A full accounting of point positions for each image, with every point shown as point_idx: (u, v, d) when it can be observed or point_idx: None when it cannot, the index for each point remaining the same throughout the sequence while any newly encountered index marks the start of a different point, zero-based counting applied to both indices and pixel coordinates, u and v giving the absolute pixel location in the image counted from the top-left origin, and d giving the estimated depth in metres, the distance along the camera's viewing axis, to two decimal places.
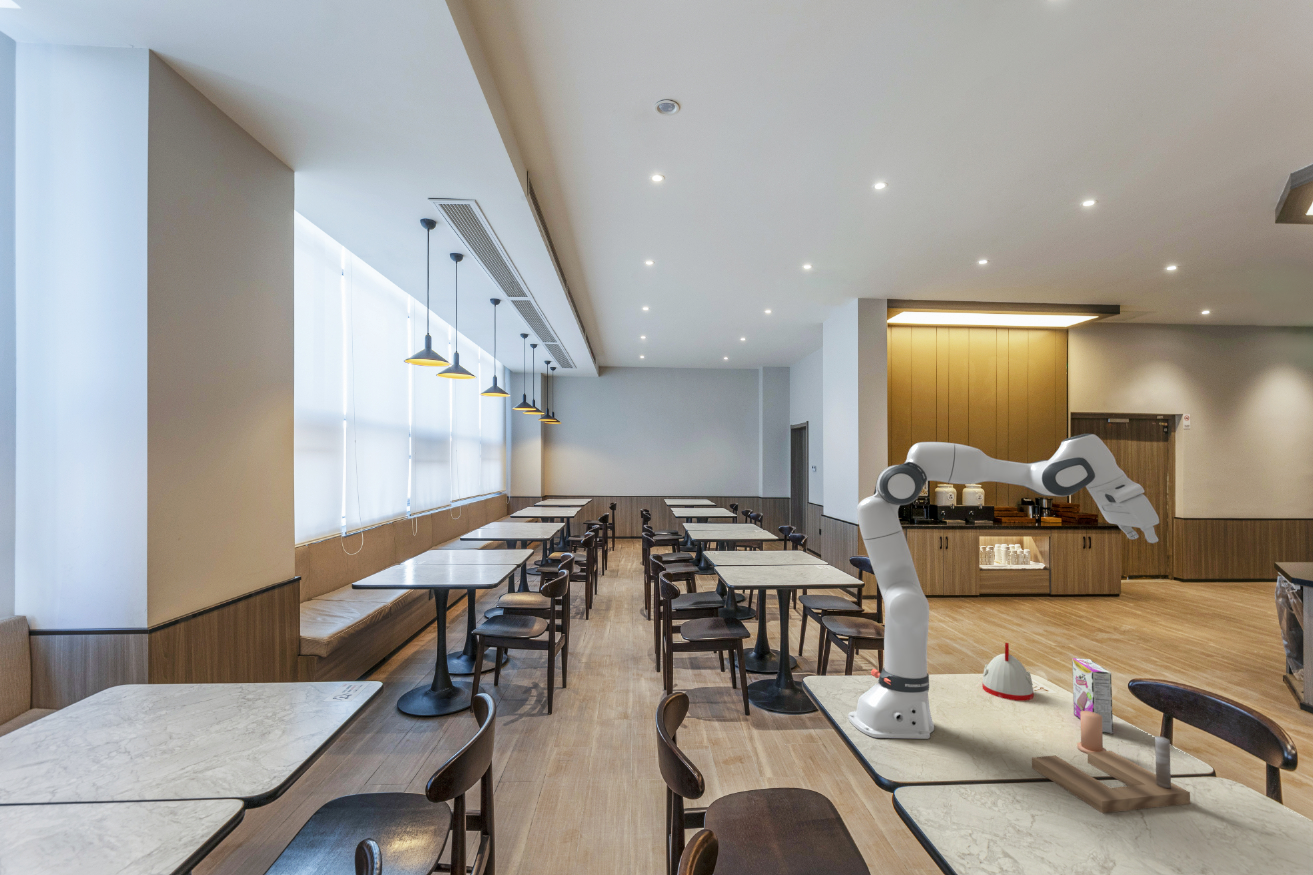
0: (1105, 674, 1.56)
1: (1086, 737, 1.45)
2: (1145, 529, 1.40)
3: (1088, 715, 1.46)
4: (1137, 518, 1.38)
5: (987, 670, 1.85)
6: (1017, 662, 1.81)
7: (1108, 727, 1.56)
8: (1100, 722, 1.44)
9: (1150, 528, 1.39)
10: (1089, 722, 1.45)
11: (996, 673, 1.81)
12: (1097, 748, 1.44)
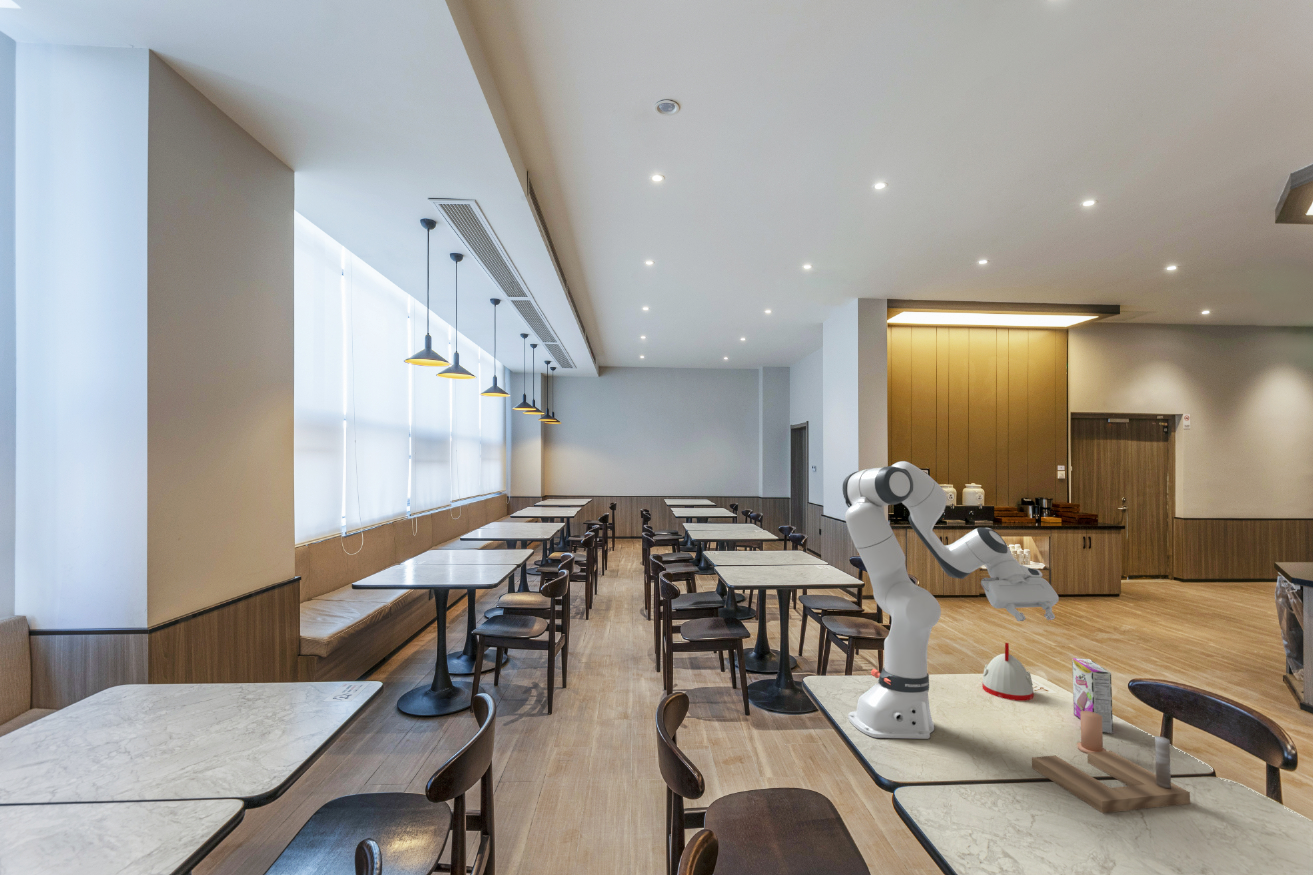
0: (1105, 674, 1.56)
1: (1086, 737, 1.45)
2: None
3: (1088, 715, 1.46)
4: (1054, 590, 1.67)
5: (987, 670, 1.85)
6: (1017, 662, 1.81)
7: (1108, 727, 1.56)
8: (1100, 722, 1.44)
9: None
10: (1089, 722, 1.45)
11: (996, 673, 1.81)
12: (1097, 748, 1.44)
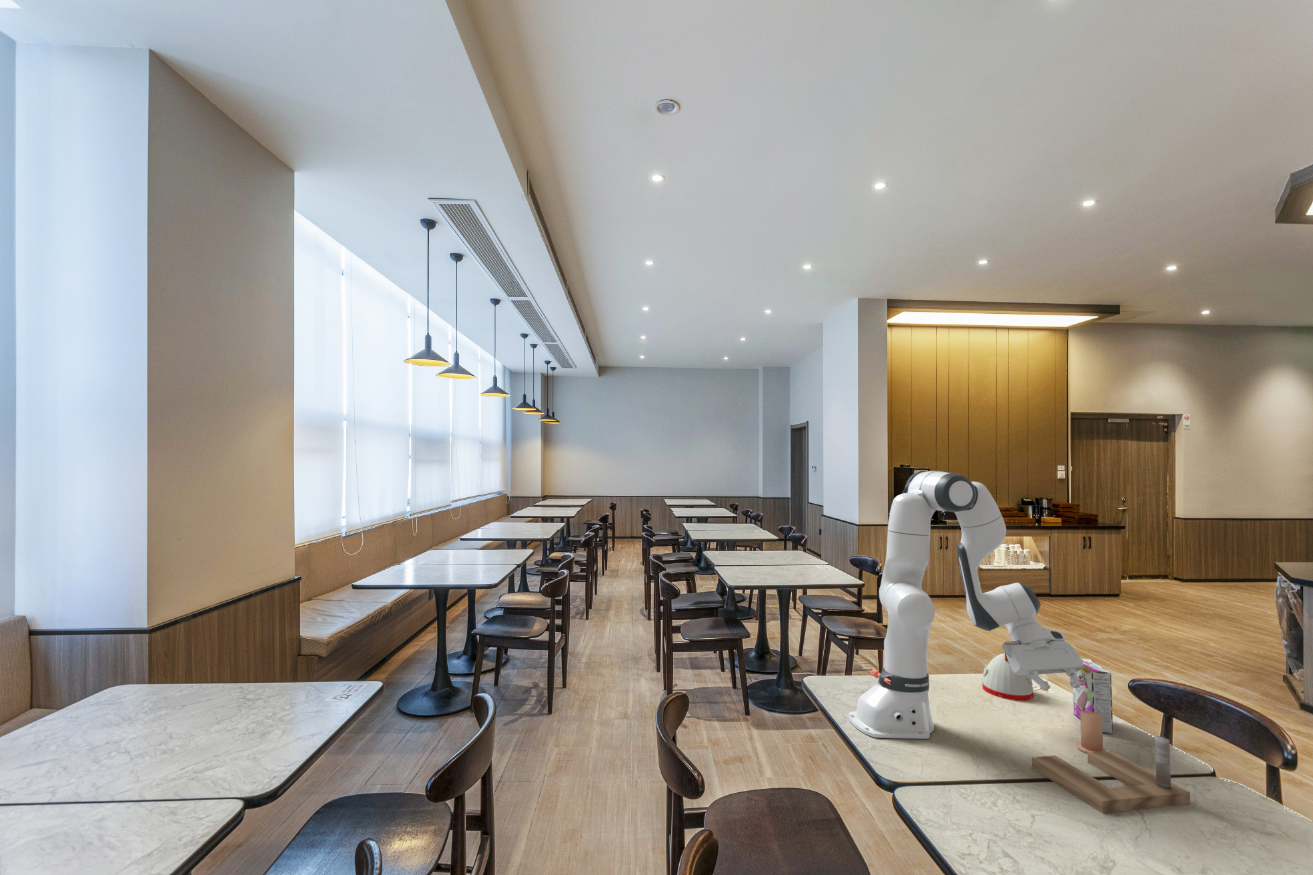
0: (1105, 674, 1.56)
1: (1086, 737, 1.45)
2: None
3: (1088, 715, 1.46)
4: (1078, 655, 1.61)
5: (987, 670, 1.85)
6: None
7: (1108, 727, 1.56)
8: (1100, 722, 1.44)
9: None
10: (1089, 722, 1.45)
11: (996, 673, 1.81)
12: (1097, 748, 1.44)
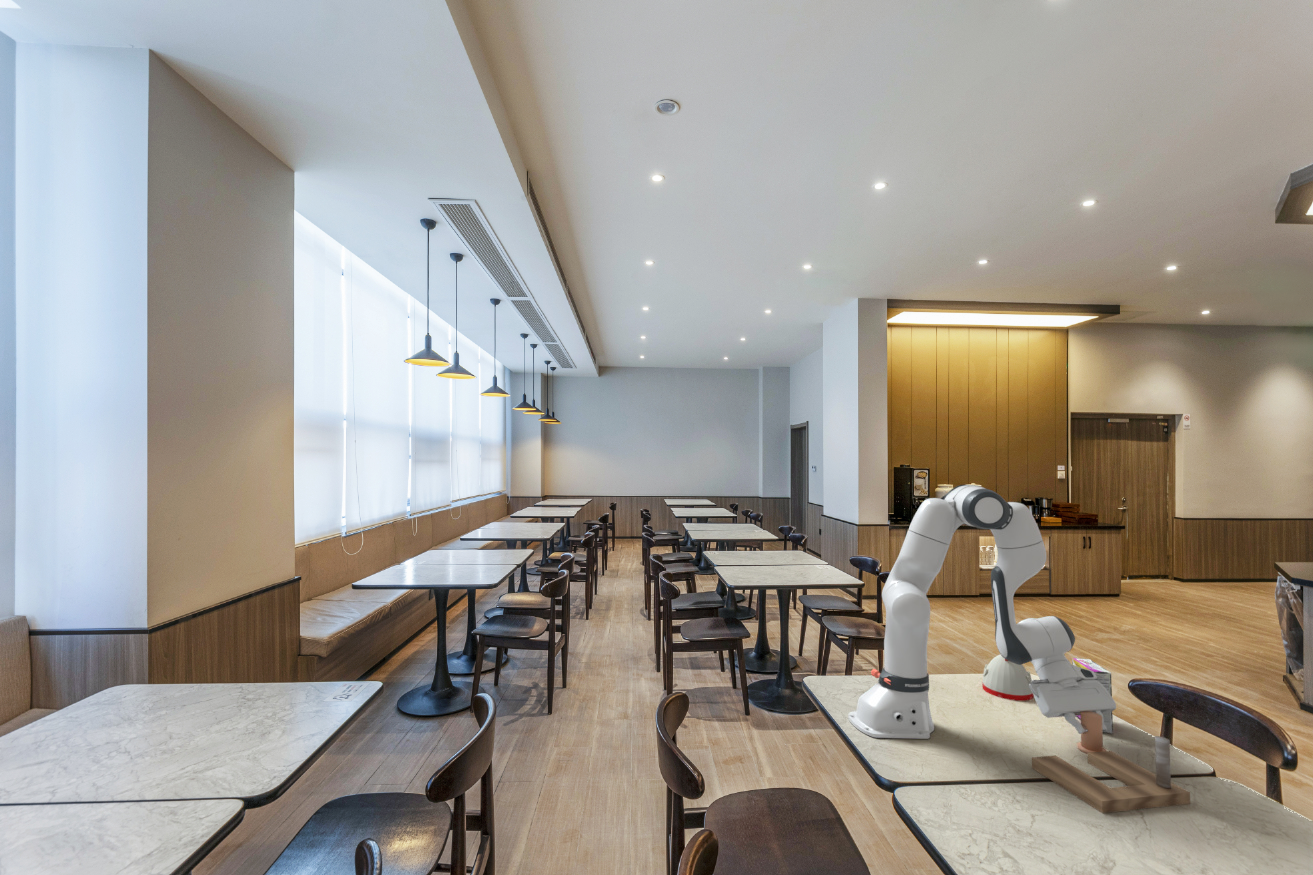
0: (1105, 674, 1.56)
1: (1086, 737, 1.45)
2: None
3: (1088, 715, 1.46)
4: None
5: (987, 670, 1.85)
6: None
7: (1108, 727, 1.56)
8: (1100, 722, 1.44)
9: None
10: (1089, 722, 1.45)
11: (996, 673, 1.81)
12: (1097, 748, 1.44)
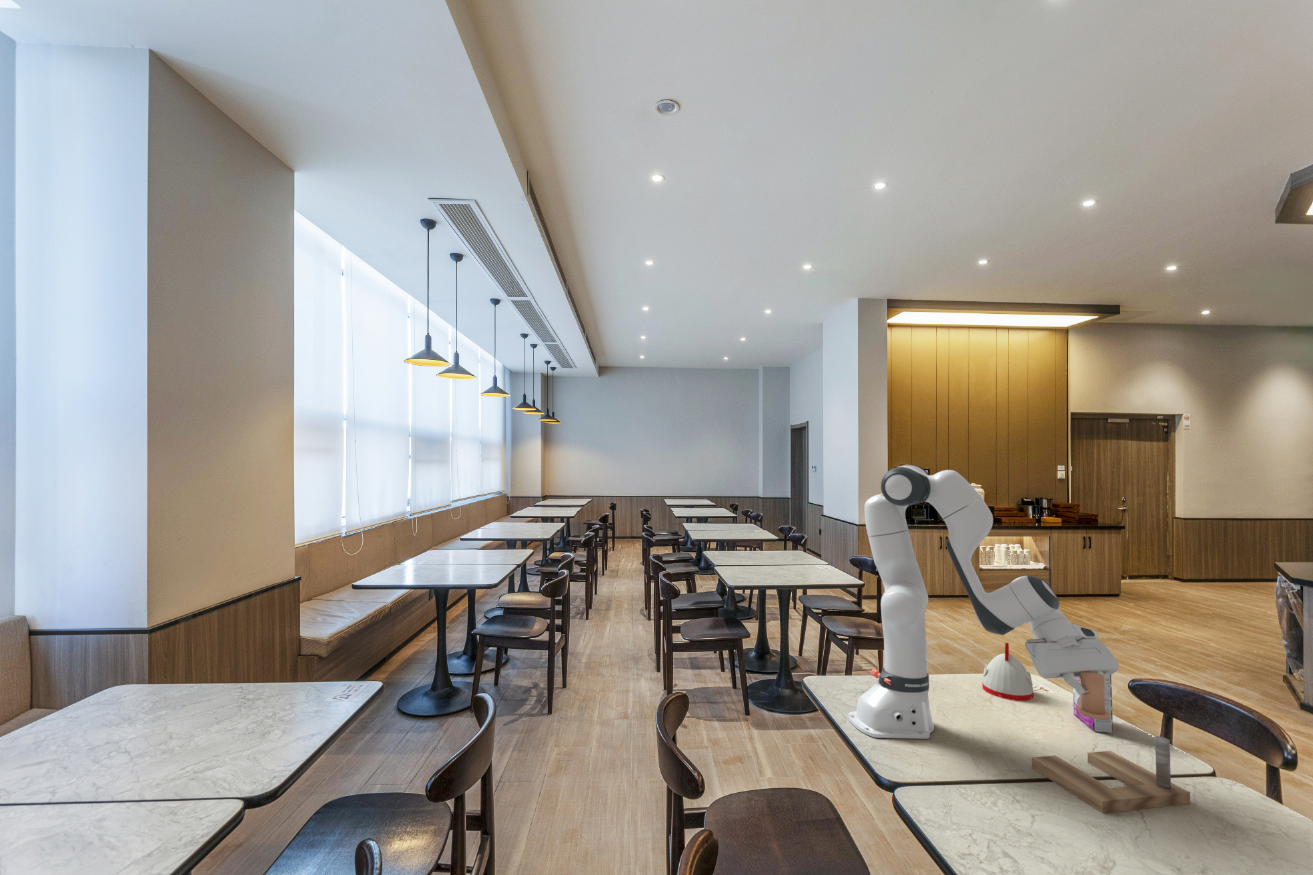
0: None
1: (1087, 699, 1.33)
2: None
3: (1089, 675, 1.34)
4: (1113, 656, 1.40)
5: (987, 670, 1.85)
6: (1017, 662, 1.81)
7: (1108, 727, 1.56)
8: (1102, 682, 1.32)
9: None
10: (1090, 683, 1.33)
11: (996, 673, 1.81)
12: (1098, 710, 1.32)
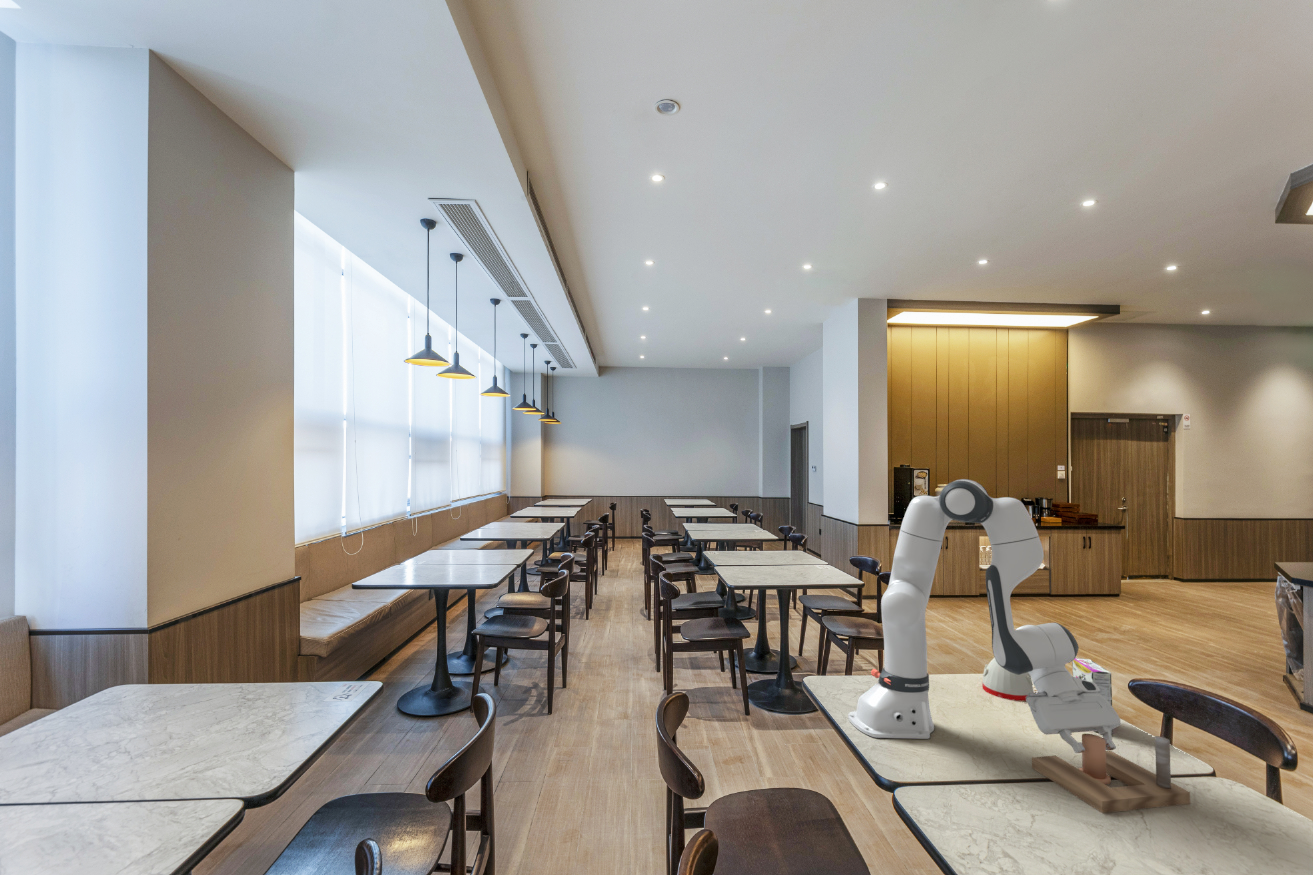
0: (1105, 674, 1.56)
1: (1088, 763, 1.33)
2: None
3: (1090, 739, 1.33)
4: None
5: (987, 670, 1.85)
6: None
7: None
8: (1103, 747, 1.32)
9: None
10: (1091, 747, 1.32)
11: (996, 673, 1.81)
12: (1100, 775, 1.31)
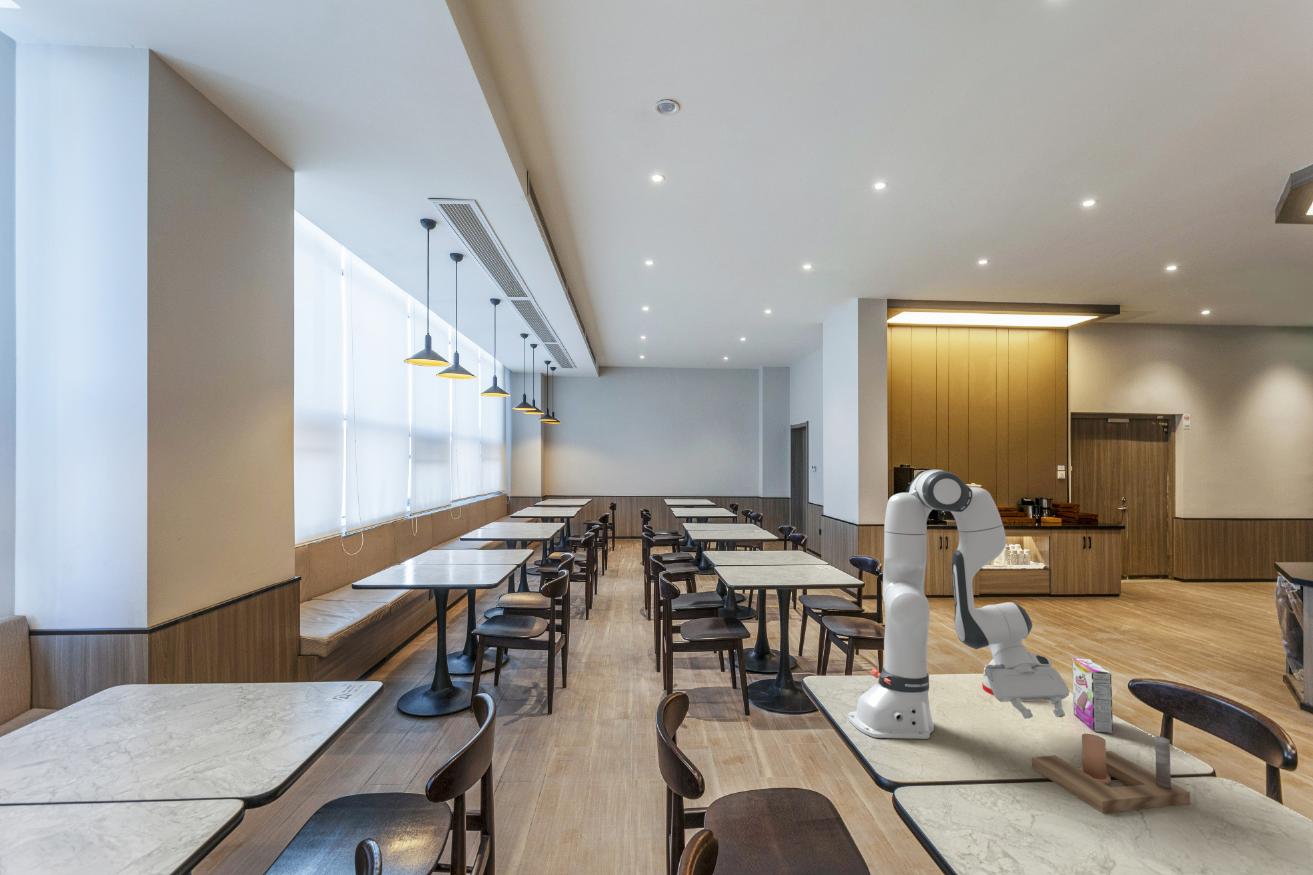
0: (1105, 674, 1.56)
1: (1088, 763, 1.33)
2: None
3: (1090, 739, 1.33)
4: (1064, 683, 1.52)
5: None
6: None
7: (1108, 727, 1.56)
8: (1103, 747, 1.32)
9: None
10: (1091, 747, 1.32)
11: None
12: (1100, 775, 1.31)
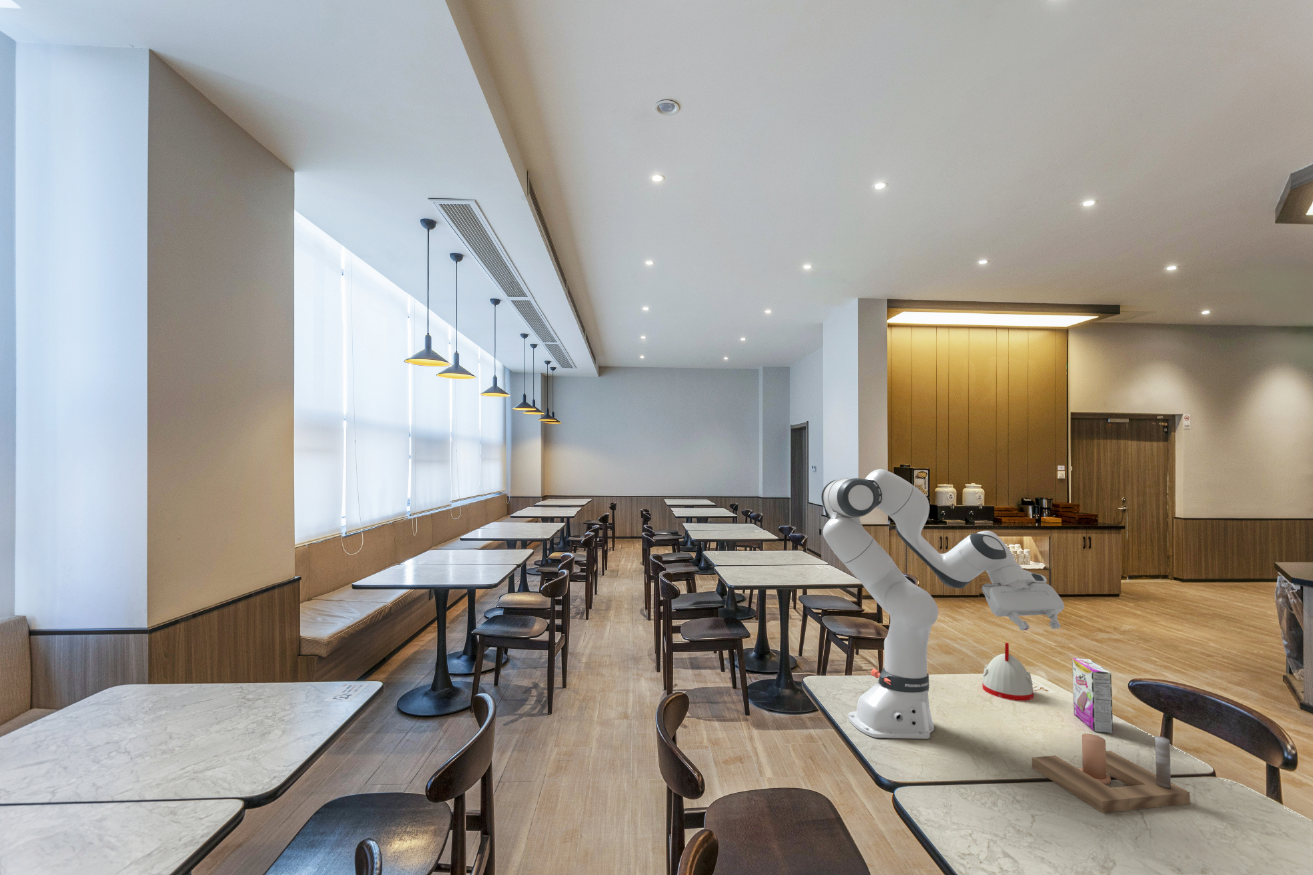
0: (1105, 674, 1.56)
1: (1088, 763, 1.33)
2: None
3: (1090, 739, 1.33)
4: (1059, 597, 1.57)
5: (987, 670, 1.85)
6: (1017, 662, 1.81)
7: (1108, 727, 1.56)
8: (1103, 747, 1.32)
9: None
10: (1091, 747, 1.32)
11: (996, 673, 1.81)
12: (1100, 775, 1.31)
